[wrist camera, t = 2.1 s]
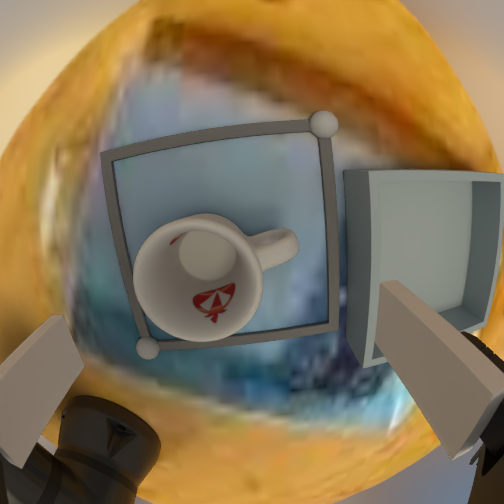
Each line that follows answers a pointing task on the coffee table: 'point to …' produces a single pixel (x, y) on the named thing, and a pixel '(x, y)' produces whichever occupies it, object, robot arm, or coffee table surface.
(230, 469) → the coffee table surface
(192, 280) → the cup
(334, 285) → the square tray frame
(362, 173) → the bin
